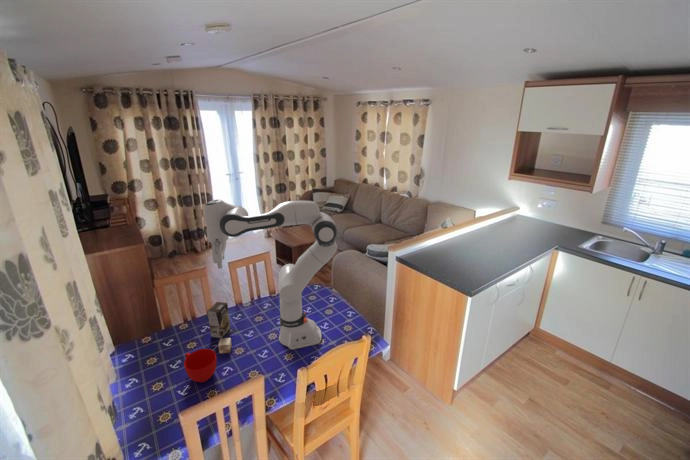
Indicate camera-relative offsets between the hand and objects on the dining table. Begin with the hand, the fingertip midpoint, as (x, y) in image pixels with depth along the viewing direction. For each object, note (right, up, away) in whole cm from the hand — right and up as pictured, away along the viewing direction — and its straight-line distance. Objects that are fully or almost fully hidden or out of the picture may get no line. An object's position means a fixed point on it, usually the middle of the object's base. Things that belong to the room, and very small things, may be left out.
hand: (221, 263), depth 148 cm
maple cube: (-2, -44, +12) cm, 46 cm away
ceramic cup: (-8, -50, -4) cm, 51 cm away
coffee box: (-9, -40, +24) cm, 47 cm away
